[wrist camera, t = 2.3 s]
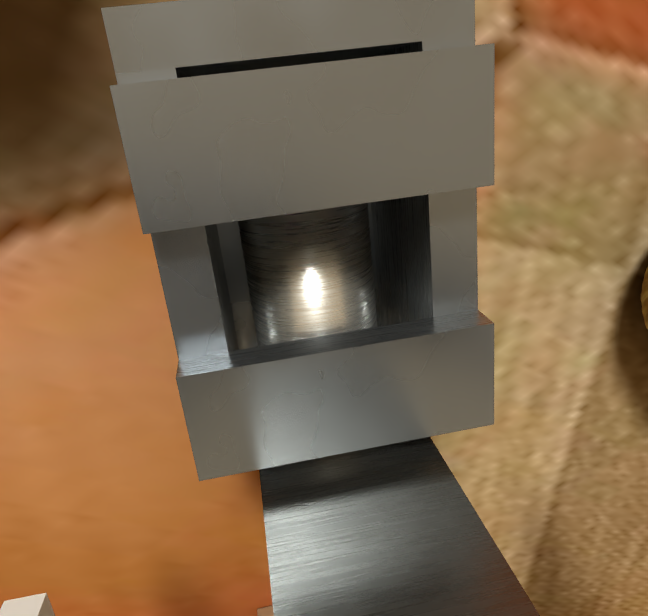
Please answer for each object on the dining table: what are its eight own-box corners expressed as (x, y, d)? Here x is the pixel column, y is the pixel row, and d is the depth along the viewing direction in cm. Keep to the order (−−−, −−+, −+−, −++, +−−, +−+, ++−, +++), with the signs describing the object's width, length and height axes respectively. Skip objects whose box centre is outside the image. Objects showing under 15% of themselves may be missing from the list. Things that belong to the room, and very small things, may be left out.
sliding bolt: (206, 117, 15) (162, 166, 4) (351, 100, 16) (658, 102, 5) (282, 560, 21) (351, 1085, 10) (388, 537, 21) (568, 1015, 10)
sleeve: (146, 42, 15) (90, -1, 8) (384, 18, 16) (494, -38, 9) (208, 353, 18) (200, 489, 12) (402, 320, 19) (494, 432, 12)
